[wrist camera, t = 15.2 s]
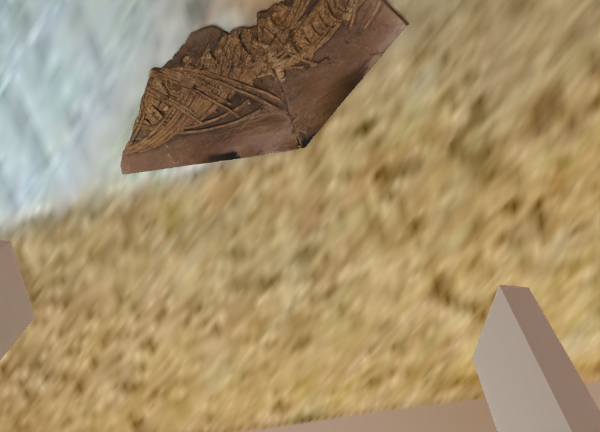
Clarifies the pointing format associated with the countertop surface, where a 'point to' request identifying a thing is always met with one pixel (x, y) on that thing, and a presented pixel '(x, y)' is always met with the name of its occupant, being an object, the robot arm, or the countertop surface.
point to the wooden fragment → (258, 83)
